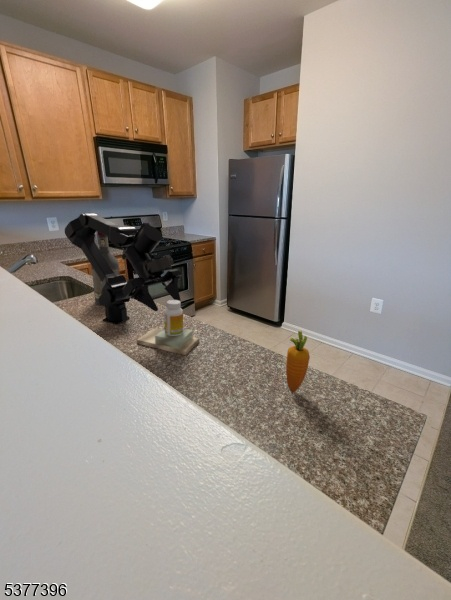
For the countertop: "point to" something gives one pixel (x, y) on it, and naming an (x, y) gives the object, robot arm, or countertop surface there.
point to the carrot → (297, 362)
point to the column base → (151, 342)
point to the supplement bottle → (173, 318)
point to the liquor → (111, 261)
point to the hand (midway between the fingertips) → (168, 306)
